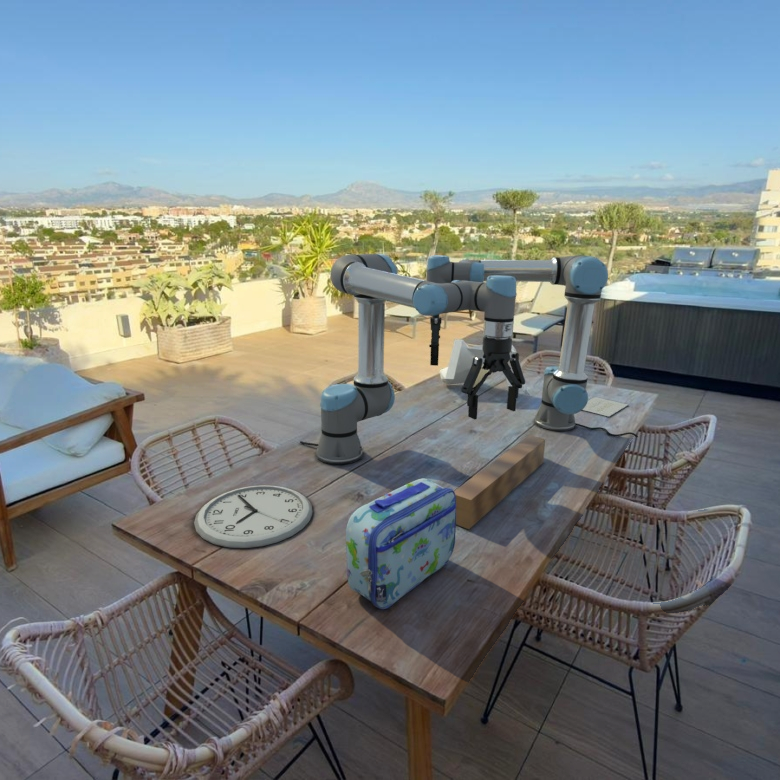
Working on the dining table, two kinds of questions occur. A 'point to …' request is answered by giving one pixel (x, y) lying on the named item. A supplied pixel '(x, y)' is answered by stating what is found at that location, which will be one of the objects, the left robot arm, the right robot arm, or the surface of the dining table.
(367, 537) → the lunch box
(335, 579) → the dining table surface
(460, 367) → the white plastic object
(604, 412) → the invitation card
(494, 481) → the post
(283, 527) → the wall clock
